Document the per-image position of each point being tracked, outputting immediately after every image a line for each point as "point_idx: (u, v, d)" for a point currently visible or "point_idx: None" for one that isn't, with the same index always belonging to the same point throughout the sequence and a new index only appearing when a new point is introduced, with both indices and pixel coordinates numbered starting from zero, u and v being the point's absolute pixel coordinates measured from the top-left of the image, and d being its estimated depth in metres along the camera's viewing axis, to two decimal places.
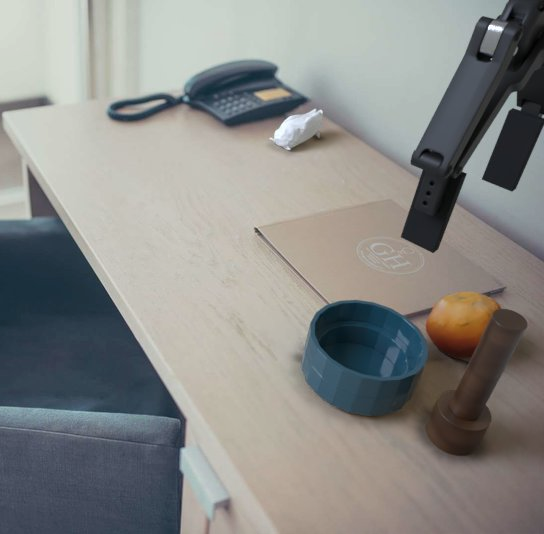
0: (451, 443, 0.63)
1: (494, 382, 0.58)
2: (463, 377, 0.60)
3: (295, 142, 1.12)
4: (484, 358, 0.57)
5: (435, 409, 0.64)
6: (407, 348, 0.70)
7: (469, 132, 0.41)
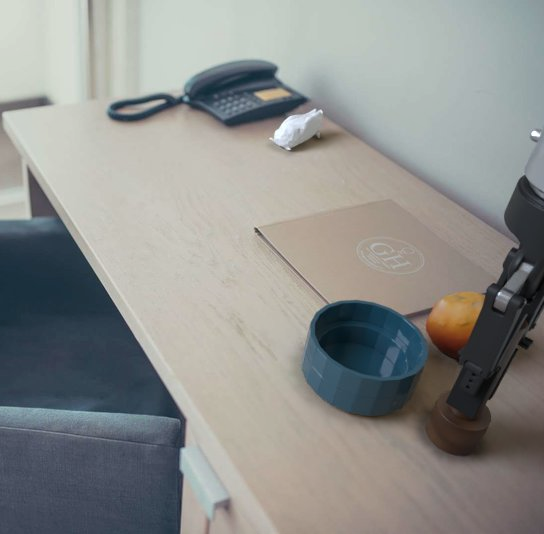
0: (451, 443, 0.63)
1: (494, 382, 0.58)
2: None
3: (295, 142, 1.12)
4: None
5: (435, 409, 0.64)
6: (407, 348, 0.70)
7: (499, 353, 0.52)
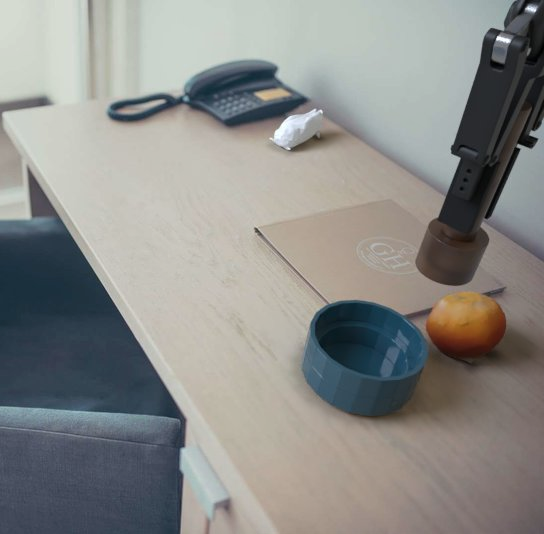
0: (443, 269, 0.56)
1: (492, 186, 0.51)
2: None
3: (295, 142, 1.12)
4: None
5: (426, 234, 0.57)
6: (407, 348, 0.70)
7: (497, 127, 0.45)
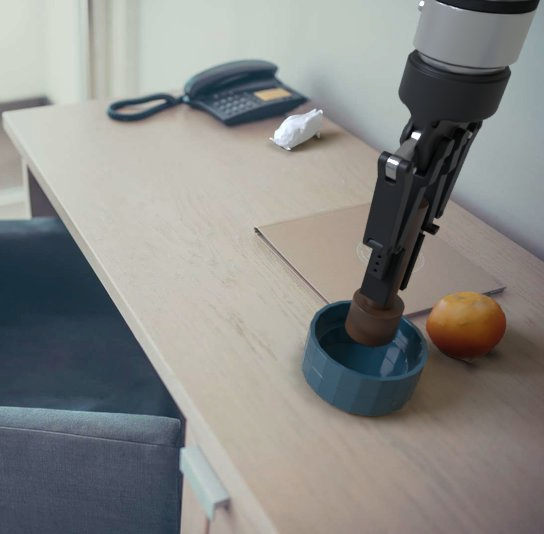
0: (366, 333, 0.65)
1: (402, 267, 0.60)
2: None
3: (295, 142, 1.12)
4: None
5: (352, 302, 0.65)
6: (407, 348, 0.70)
7: (396, 227, 0.54)
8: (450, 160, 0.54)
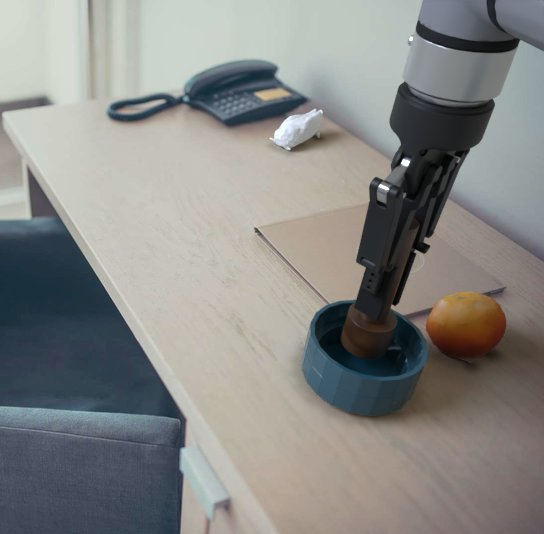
0: (360, 346, 0.68)
1: (394, 284, 0.63)
2: None
3: (295, 142, 1.12)
4: None
5: (347, 316, 0.69)
6: (407, 348, 0.70)
7: (387, 247, 0.57)
8: (439, 184, 0.57)
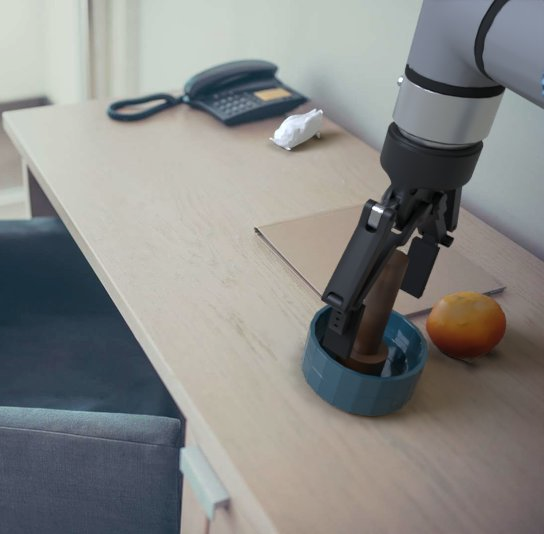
0: None
1: (385, 316, 0.64)
2: None
3: (295, 142, 1.12)
4: (374, 294, 0.63)
5: None
6: (407, 348, 0.70)
7: (361, 282, 0.54)
8: (437, 213, 0.58)
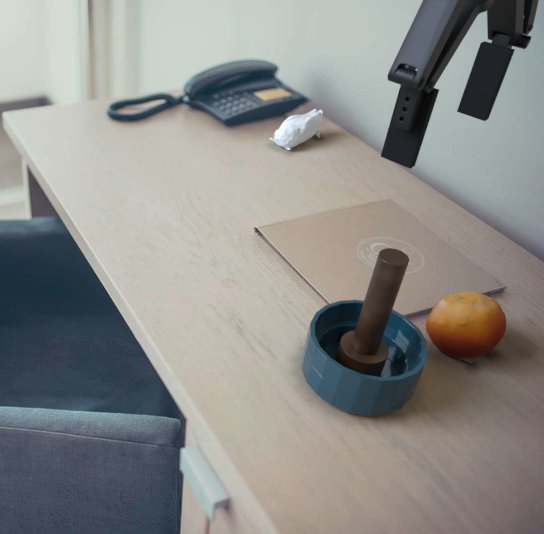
0: None
1: (385, 316, 0.64)
2: (360, 314, 0.66)
3: (295, 142, 1.12)
4: (374, 294, 0.63)
5: (339, 346, 0.69)
6: (407, 348, 0.70)
7: (440, 46, 0.45)
8: None
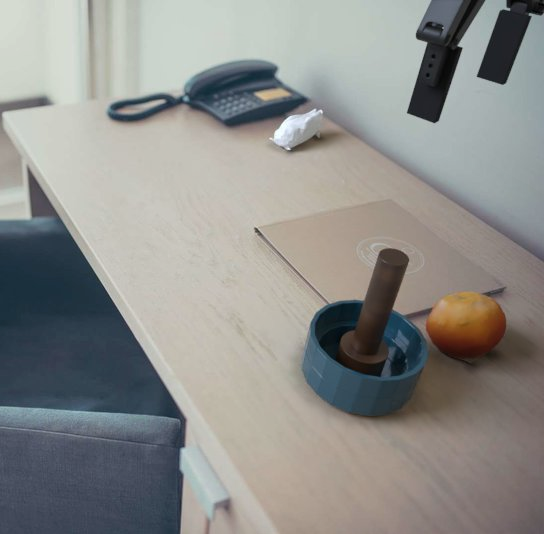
0: None
1: (385, 316, 0.64)
2: (360, 314, 0.66)
3: (295, 142, 1.12)
4: (374, 294, 0.63)
5: (339, 346, 0.69)
6: (407, 348, 0.70)
7: (464, 4, 0.49)
8: None
